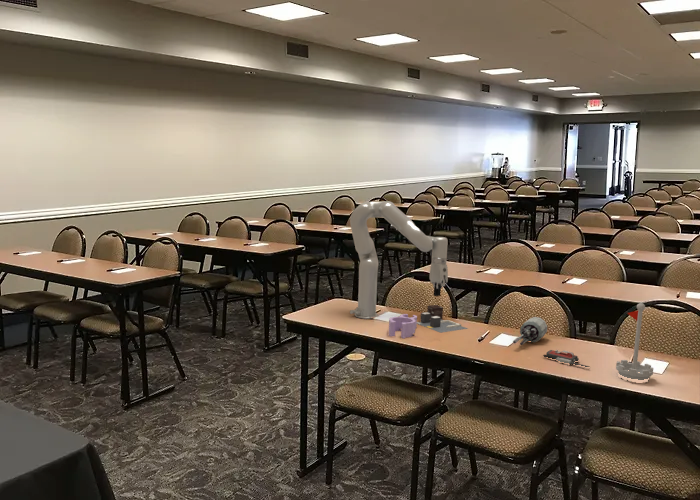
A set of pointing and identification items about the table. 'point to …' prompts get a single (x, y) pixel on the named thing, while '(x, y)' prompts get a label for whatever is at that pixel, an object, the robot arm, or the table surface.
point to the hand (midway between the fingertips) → (436, 295)
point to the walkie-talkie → (563, 357)
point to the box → (435, 310)
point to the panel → (443, 326)
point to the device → (532, 330)
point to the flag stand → (635, 353)
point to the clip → (403, 325)
